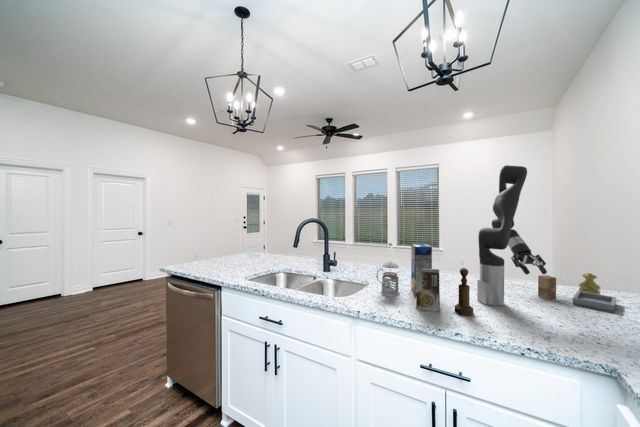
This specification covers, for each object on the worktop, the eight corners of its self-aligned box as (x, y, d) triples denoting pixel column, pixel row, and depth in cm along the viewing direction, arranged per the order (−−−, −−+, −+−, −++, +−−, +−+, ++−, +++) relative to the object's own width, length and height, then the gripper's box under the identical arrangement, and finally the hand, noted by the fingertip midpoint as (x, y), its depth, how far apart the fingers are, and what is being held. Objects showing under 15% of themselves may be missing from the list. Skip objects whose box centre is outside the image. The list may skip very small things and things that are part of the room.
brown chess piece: (471, 311, 108) (471, 267, 107) (475, 317, 102) (475, 270, 101) (453, 309, 110) (453, 266, 110) (456, 314, 104) (456, 269, 103)
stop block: (546, 299, 121) (546, 278, 121) (538, 296, 125) (538, 275, 125) (556, 299, 121) (556, 277, 121) (547, 296, 125) (547, 275, 125)
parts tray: (614, 312, 105) (614, 305, 105) (572, 304, 114) (572, 297, 114) (615, 304, 115) (616, 297, 115) (577, 297, 124) (577, 290, 124)
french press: (403, 296, 126) (403, 244, 126) (378, 296, 126) (378, 244, 126) (397, 290, 136) (397, 241, 135) (374, 290, 136) (374, 241, 136)
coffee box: (439, 306, 112) (439, 269, 112) (439, 312, 107) (439, 272, 106) (417, 303, 116) (417, 267, 116) (415, 308, 110) (415, 270, 110)
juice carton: (411, 289, 137) (411, 243, 137) (426, 290, 136) (426, 243, 135) (415, 296, 125) (415, 246, 125) (431, 297, 124) (431, 247, 124)
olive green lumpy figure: (590, 291, 132) (590, 271, 132) (605, 296, 125) (605, 275, 125) (574, 291, 133) (574, 271, 133) (588, 296, 126) (588, 275, 125)
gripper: (509, 242, 137) (527, 269, 126) (535, 242, 138) (555, 269, 126) (501, 251, 142) (518, 277, 131) (527, 251, 143) (545, 277, 132)
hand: (536, 273), depth 129 cm, fingers open, 8 cm apart
